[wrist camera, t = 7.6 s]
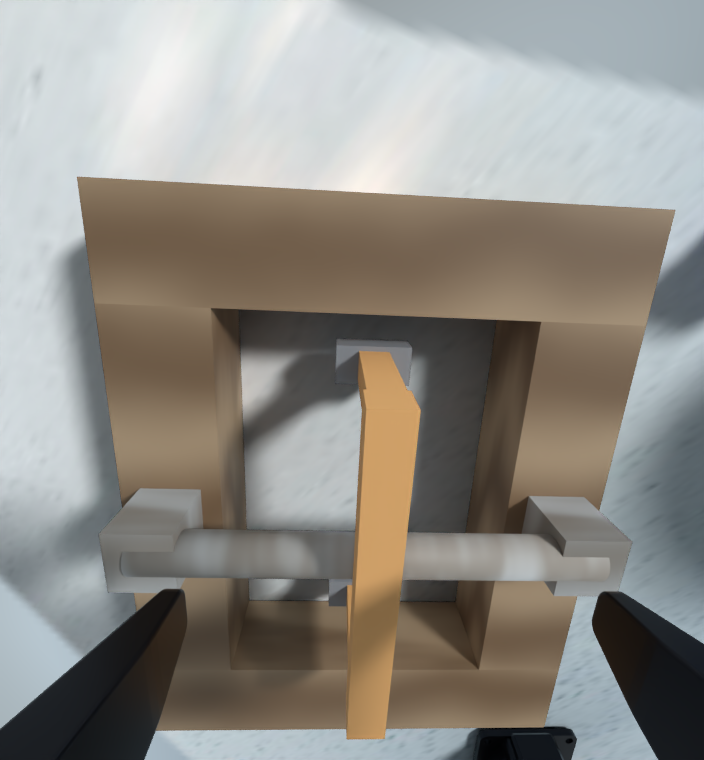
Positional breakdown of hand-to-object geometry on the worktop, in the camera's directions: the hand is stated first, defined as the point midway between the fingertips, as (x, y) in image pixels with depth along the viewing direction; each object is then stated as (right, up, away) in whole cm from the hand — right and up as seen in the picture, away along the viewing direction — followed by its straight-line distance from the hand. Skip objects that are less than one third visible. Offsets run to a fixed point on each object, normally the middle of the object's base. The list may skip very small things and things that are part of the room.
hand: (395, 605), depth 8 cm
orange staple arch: (0, 0, +10) cm, 10 cm away
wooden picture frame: (0, 0, +12) cm, 12 cm away
